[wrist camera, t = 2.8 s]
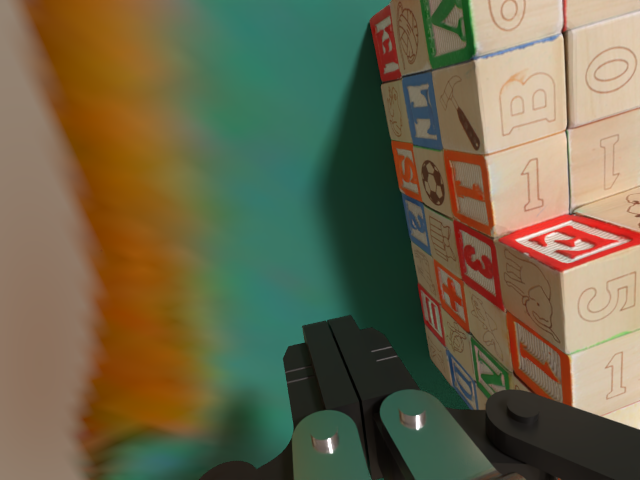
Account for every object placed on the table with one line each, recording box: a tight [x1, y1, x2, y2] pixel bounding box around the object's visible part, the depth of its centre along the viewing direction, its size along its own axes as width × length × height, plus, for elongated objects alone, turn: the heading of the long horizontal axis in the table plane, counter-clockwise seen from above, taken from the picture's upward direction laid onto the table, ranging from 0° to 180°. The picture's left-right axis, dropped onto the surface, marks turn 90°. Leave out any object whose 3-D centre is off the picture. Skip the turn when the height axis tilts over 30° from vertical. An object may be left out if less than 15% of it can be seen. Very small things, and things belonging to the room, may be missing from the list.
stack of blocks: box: [370, 0, 640, 480], centre depth 17 cm, size 21×6×12 cm, turn 15°
